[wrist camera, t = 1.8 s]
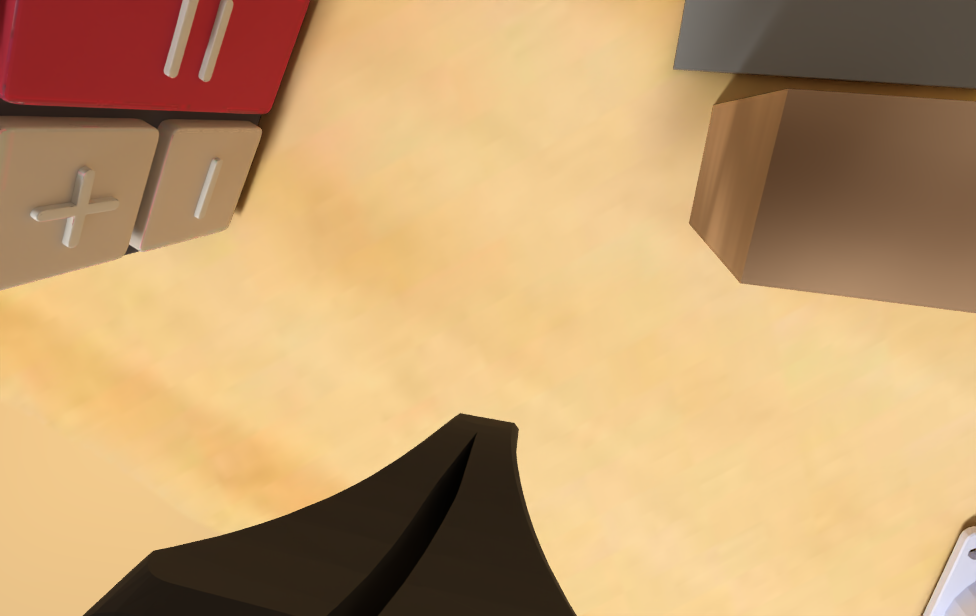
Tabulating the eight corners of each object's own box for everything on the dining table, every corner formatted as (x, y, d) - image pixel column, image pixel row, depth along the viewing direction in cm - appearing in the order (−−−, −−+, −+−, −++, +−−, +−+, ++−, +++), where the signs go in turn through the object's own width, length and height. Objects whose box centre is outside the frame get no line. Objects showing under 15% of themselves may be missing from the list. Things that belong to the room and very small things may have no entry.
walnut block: (871, 244, 18) (1053, 322, 11) (689, 223, 19) (740, 283, 12) (912, 119, 17) (1151, 112, 10) (713, 104, 18) (788, 88, 11)
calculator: (236, 240, 23) (-311, 407, 9) (153, 188, 23) (-515, 277, 9) (331, -16, 19) (-390, -393, 5) (230, -79, 19) (-748, -614, 5)
